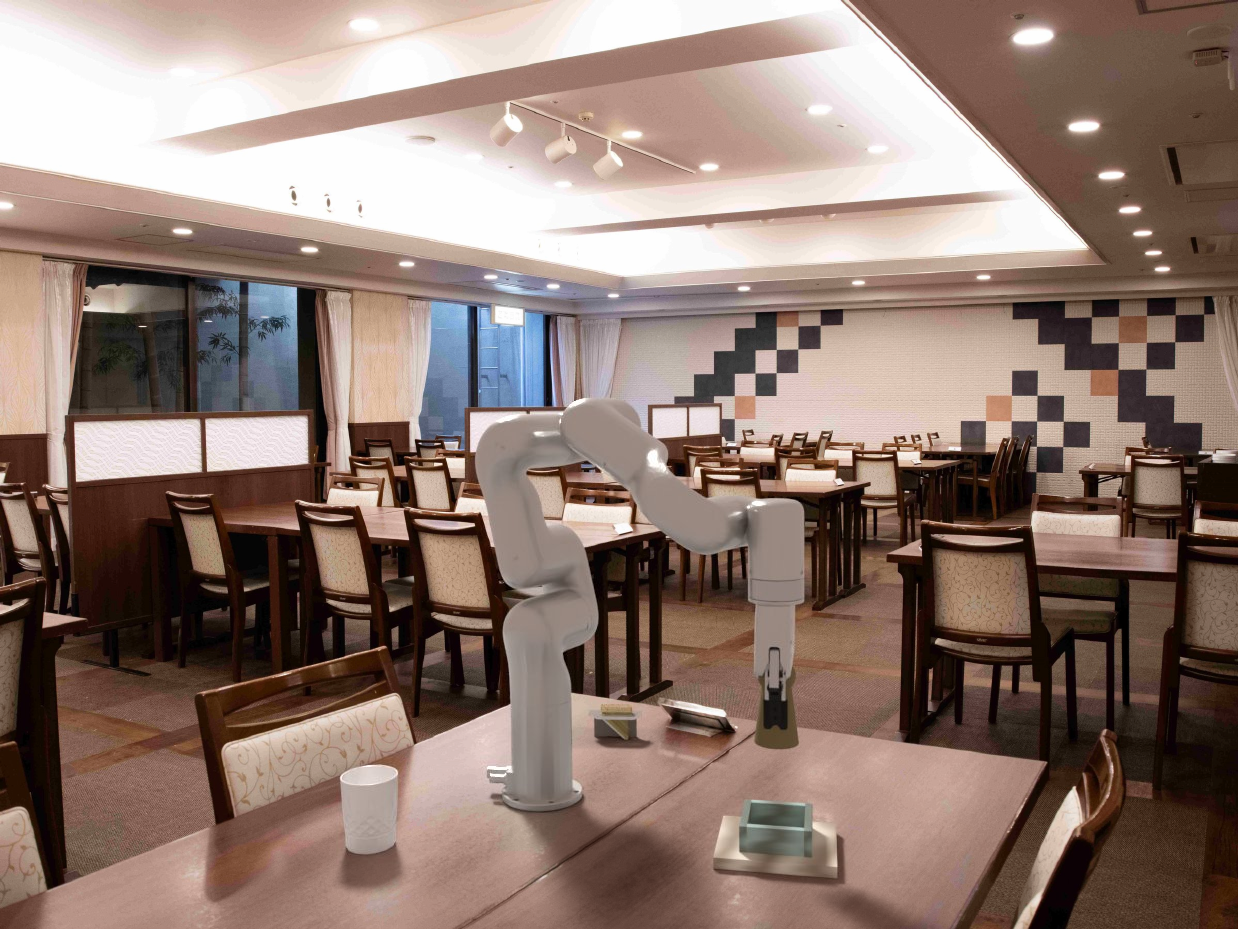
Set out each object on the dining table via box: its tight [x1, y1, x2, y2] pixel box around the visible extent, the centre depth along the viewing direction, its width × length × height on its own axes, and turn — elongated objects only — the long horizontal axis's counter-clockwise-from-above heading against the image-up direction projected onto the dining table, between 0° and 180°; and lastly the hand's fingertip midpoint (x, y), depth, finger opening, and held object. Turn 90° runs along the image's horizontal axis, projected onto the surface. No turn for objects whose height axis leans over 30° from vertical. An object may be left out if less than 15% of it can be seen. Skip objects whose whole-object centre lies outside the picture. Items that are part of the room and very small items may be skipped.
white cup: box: [339, 764, 399, 855], centre depth 141 cm, size 8×8×10 cm
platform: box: [588, 703, 643, 740], centre depth 186 cm, size 12×18×7 cm, turn 85°
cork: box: [753, 665, 800, 750], centre depth 137 cm, size 6×6×11 cm
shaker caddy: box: [712, 798, 838, 879], centre depth 137 cm, size 16×14×5 cm
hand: (776, 722), depth 137 cm, fingers closed on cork, 3 cm apart
